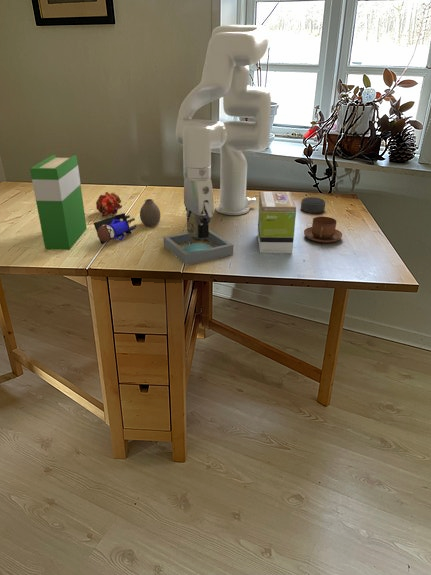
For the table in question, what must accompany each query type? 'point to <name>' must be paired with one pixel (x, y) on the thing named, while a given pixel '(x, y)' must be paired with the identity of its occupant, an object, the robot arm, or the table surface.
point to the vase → (150, 213)
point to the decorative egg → (194, 226)
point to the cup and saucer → (323, 230)
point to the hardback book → (59, 201)
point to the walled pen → (197, 248)
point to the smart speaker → (313, 205)
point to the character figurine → (113, 228)
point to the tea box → (276, 222)
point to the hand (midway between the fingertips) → (197, 233)
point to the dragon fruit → (108, 204)
